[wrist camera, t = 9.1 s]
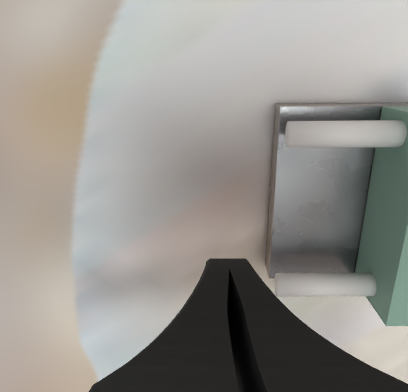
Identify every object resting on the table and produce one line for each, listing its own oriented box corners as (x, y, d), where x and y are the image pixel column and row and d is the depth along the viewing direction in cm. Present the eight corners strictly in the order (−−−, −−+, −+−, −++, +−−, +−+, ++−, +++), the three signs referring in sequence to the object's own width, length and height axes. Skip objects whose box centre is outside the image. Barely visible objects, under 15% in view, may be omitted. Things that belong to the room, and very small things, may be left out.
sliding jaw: (387, 279, 21) (427, 325, 17) (269, 279, 21) (283, 325, 17) (422, 105, 17) (482, 116, 14) (280, 107, 17) (300, 118, 14)
